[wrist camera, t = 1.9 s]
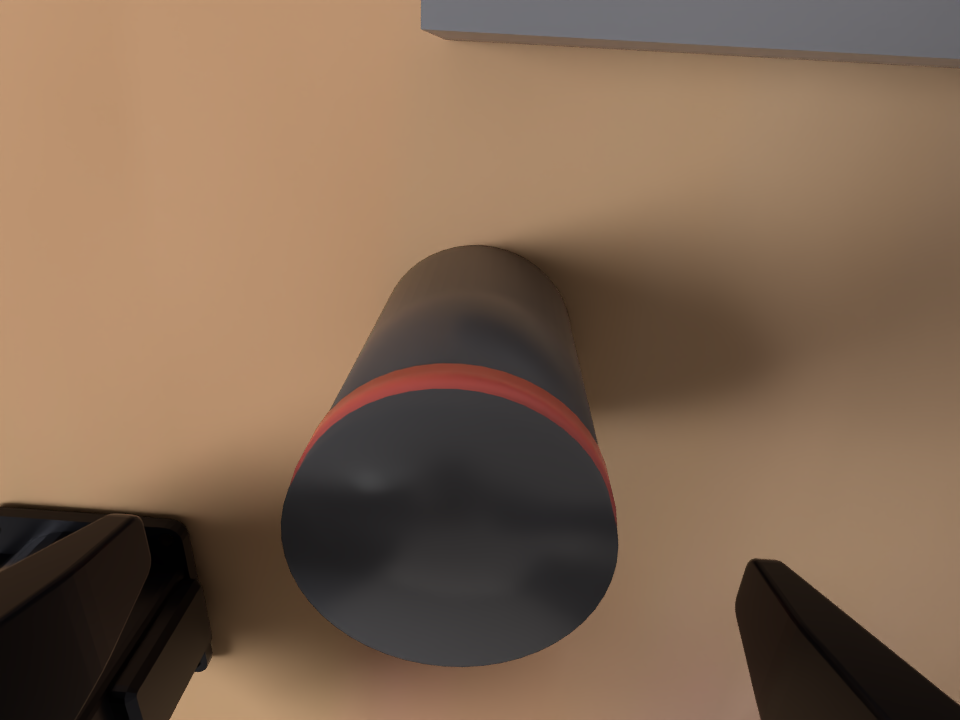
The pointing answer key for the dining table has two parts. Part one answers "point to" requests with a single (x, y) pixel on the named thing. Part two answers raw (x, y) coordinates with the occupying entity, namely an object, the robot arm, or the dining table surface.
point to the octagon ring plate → (716, 27)
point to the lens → (457, 474)
